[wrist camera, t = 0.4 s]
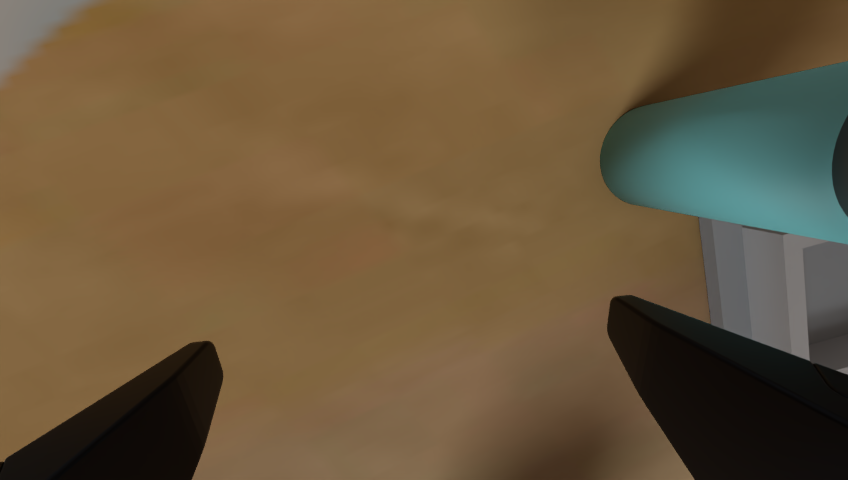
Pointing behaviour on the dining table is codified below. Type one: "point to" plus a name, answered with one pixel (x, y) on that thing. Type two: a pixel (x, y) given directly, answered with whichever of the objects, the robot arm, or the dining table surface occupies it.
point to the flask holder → (779, 289)
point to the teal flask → (742, 154)
